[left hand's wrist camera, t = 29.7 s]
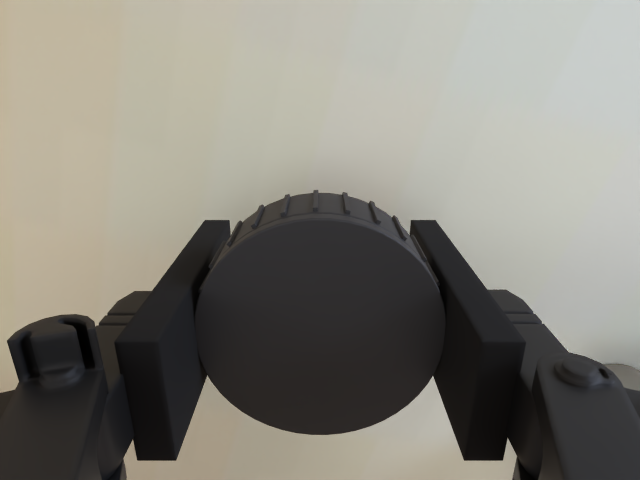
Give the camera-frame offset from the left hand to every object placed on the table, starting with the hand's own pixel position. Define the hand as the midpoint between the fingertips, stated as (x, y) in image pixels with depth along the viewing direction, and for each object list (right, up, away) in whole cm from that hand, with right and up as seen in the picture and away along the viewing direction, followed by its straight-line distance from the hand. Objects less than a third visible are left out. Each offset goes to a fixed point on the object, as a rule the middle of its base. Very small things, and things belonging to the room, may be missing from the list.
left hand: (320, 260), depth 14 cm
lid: (0, -1, -4) cm, 4 cm away
